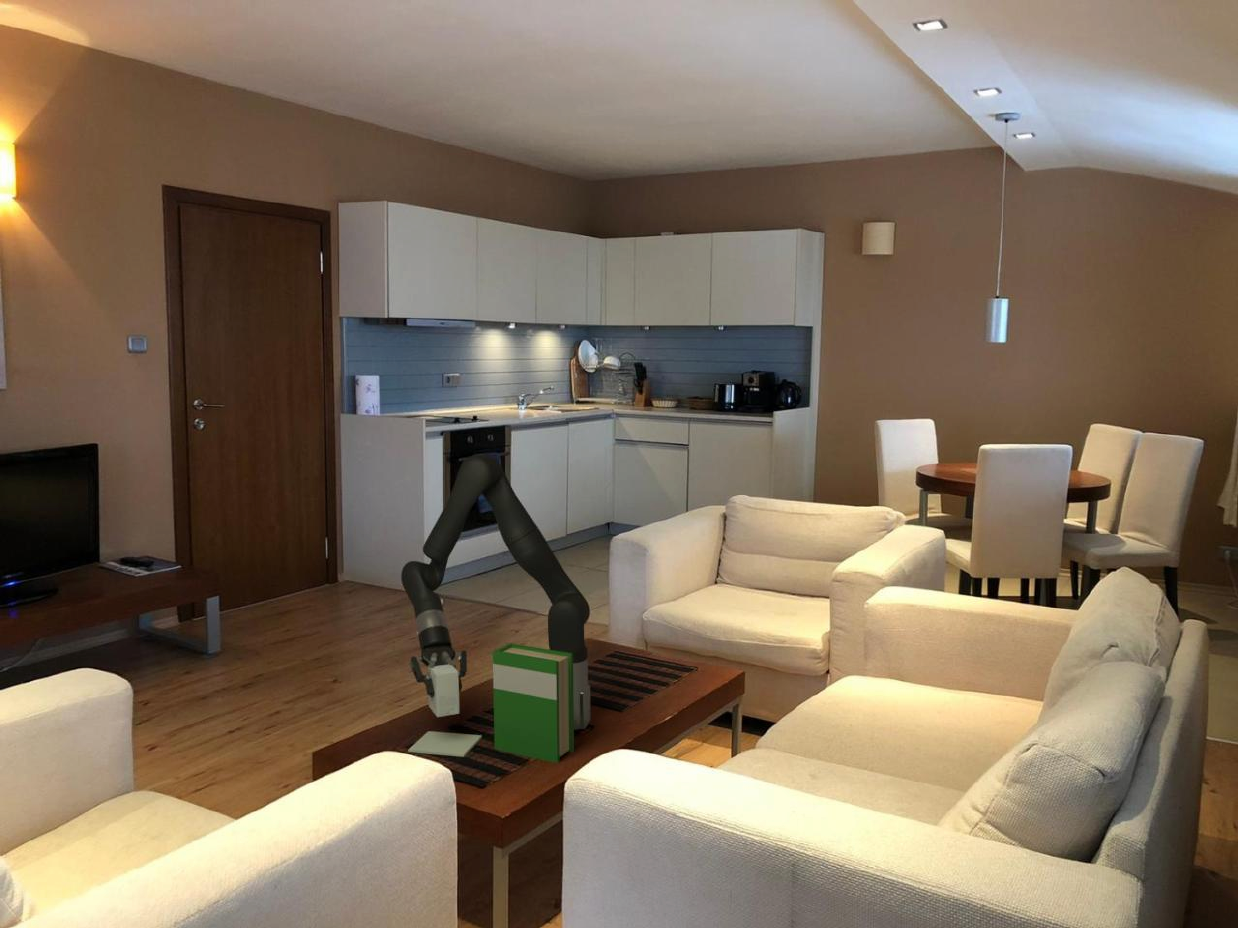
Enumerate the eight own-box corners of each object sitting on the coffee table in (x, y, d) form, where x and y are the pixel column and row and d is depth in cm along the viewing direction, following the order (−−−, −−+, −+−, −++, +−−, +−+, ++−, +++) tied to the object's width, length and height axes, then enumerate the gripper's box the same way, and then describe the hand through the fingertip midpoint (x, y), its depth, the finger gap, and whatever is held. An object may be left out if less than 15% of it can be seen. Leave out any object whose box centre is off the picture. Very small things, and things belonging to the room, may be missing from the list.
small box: (459, 714, 239) (459, 671, 238) (436, 717, 237) (435, 674, 236) (451, 703, 247) (450, 661, 245) (428, 706, 244) (427, 664, 243)
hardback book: (573, 751, 238) (573, 653, 235) (557, 763, 232) (556, 661, 229) (512, 738, 246) (510, 643, 244) (494, 748, 240) (492, 651, 237)
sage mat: (481, 737, 247) (481, 735, 247) (463, 756, 235) (463, 754, 235) (428, 733, 250) (428, 731, 250) (408, 751, 238) (408, 749, 238)
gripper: (406, 627, 244) (418, 690, 234) (464, 621, 249) (477, 682, 240) (402, 643, 249) (413, 705, 240) (458, 636, 255) (472, 697, 245)
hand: (445, 693), depth 240 cm, fingers closed on small box, 5 cm apart
